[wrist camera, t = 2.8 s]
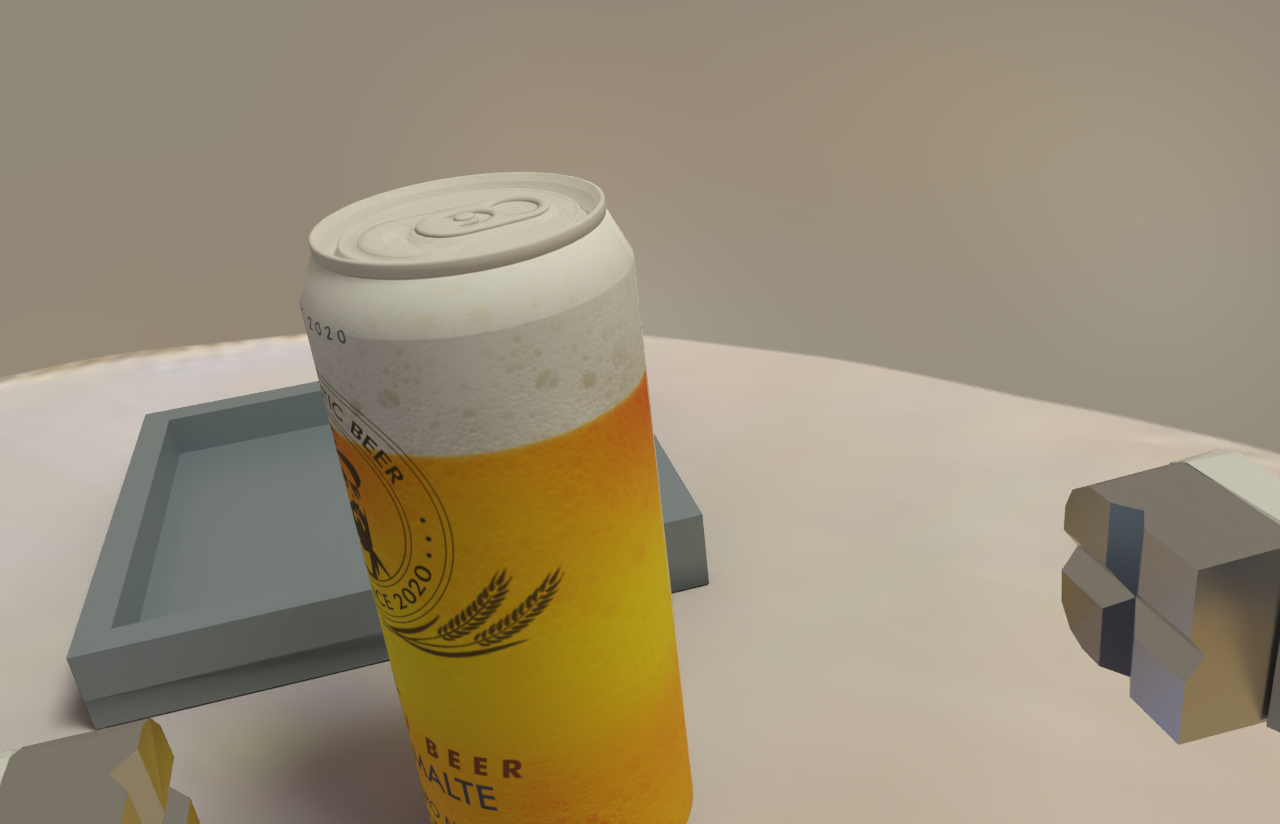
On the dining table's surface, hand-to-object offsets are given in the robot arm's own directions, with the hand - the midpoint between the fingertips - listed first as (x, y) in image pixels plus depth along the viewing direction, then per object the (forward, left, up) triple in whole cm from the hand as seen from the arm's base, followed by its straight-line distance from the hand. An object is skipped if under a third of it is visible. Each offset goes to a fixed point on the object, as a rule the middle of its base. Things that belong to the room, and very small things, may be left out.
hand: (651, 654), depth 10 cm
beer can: (0, +12, -14) cm, 19 cm away
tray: (-3, +28, -14) cm, 32 cm away
